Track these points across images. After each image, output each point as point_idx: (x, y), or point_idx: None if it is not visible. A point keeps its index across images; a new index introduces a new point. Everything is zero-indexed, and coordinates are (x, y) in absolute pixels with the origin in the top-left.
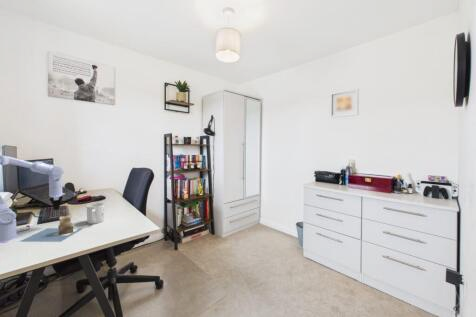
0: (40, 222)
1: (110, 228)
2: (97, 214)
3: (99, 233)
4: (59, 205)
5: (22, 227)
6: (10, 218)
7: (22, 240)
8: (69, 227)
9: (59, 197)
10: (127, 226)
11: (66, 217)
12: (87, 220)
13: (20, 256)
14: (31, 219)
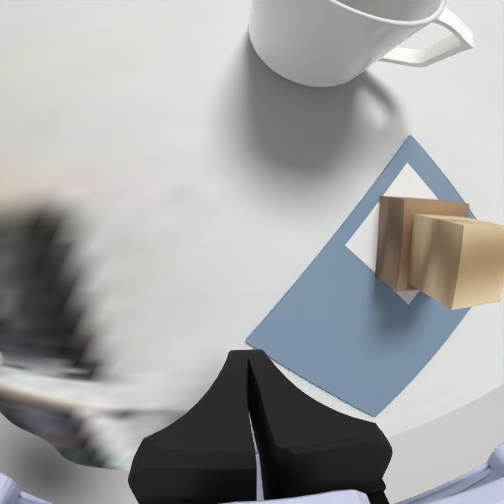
0: (77, 368)
1: None
2: (399, 10)
3: (496, 97)
4: (282, 377)
5: (132, 432)
6: None
7: (372, 410)
8: None
9: (253, 496)
10: None
11: (496, 256)
12: (334, 81)
13: (496, 364)
14: (17, 391)
